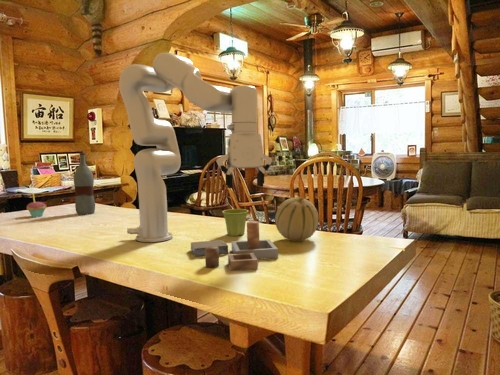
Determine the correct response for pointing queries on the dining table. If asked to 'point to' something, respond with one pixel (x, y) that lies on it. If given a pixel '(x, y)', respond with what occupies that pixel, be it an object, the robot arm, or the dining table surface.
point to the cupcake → (36, 208)
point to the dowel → (253, 235)
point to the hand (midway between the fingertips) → (245, 187)
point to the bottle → (84, 188)
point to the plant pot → (235, 221)
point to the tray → (264, 252)
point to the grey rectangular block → (199, 247)
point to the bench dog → (212, 256)
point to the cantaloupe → (296, 219)
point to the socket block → (242, 261)
